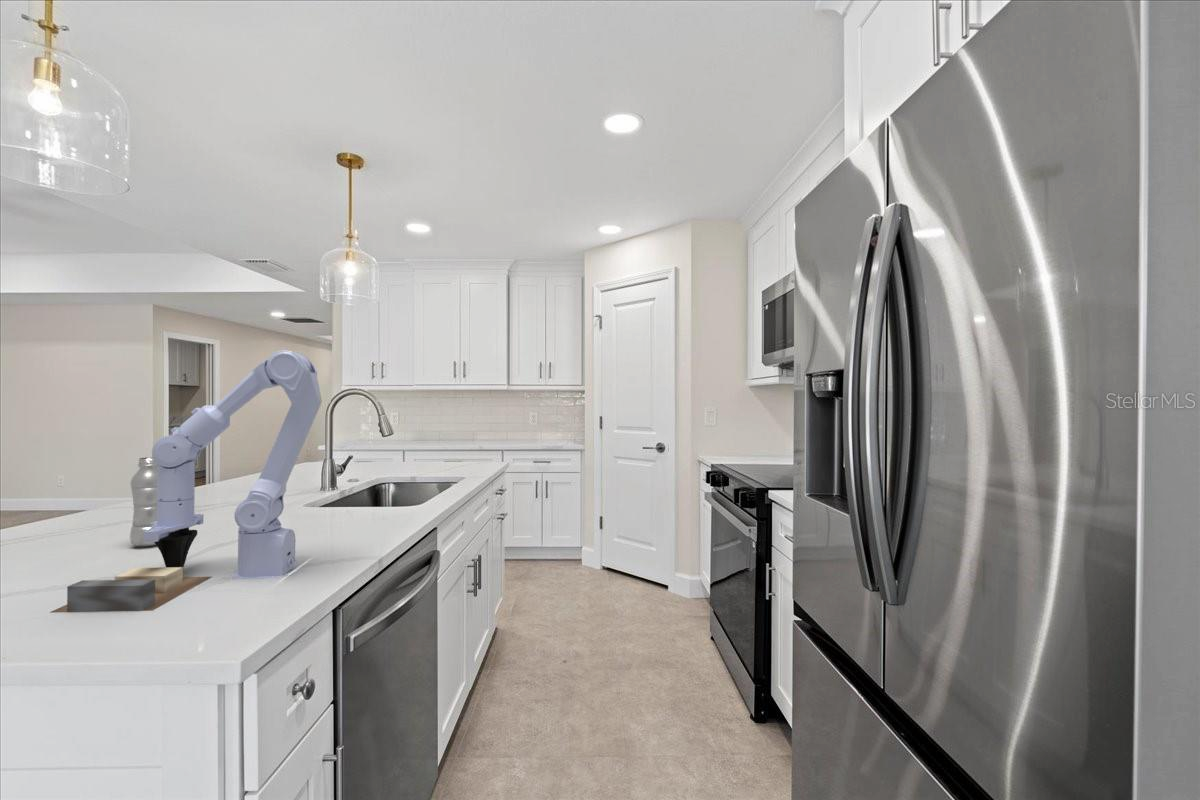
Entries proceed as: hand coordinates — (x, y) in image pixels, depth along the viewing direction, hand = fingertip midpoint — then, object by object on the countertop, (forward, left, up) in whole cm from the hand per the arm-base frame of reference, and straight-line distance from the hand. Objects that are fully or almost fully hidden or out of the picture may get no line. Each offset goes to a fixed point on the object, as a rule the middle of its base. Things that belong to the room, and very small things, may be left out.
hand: (175, 570), depth 109 cm
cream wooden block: (0, +7, -1) cm, 7 cm away
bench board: (0, +9, -2) cm, 9 cm away
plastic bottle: (+20, -24, -2) cm, 32 cm away
